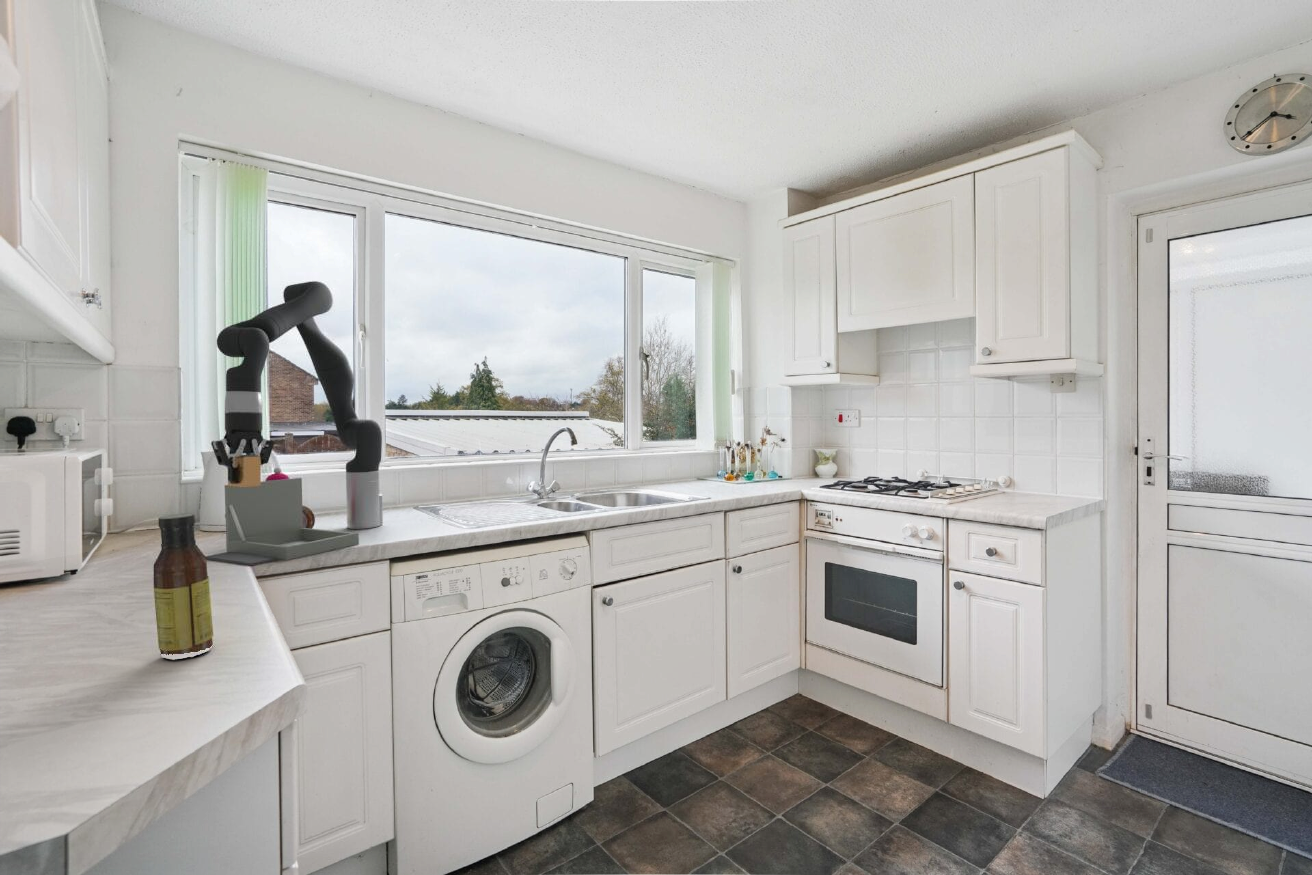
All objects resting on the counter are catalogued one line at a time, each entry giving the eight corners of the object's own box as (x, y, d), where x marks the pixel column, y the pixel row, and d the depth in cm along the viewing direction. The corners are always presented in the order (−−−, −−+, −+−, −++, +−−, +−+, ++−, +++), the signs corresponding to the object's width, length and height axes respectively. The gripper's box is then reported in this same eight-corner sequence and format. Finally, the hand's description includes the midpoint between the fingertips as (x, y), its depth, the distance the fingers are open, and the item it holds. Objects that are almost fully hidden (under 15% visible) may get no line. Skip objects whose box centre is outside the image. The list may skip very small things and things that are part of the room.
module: (244, 484, 152) (244, 454, 152) (260, 485, 150) (260, 454, 149) (227, 485, 148) (227, 455, 148) (243, 486, 146) (243, 455, 146)
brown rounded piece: (316, 533, 183) (315, 504, 183) (309, 535, 180) (308, 506, 180) (267, 533, 184) (266, 504, 184) (259, 535, 181) (259, 506, 181)
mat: (230, 553, 155) (230, 551, 155) (277, 560, 147) (277, 557, 147) (204, 559, 149) (203, 556, 149) (251, 565, 142) (251, 563, 142)
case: (301, 538, 175) (299, 477, 175) (358, 544, 165) (357, 480, 165) (226, 552, 157) (224, 485, 156) (286, 560, 147) (284, 488, 147)
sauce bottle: (206, 642, 92) (201, 509, 92) (220, 652, 88) (215, 513, 88) (150, 656, 87) (145, 515, 87) (162, 667, 83) (157, 519, 83)
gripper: (263, 412, 157) (263, 480, 157) (202, 410, 144) (202, 484, 144) (282, 412, 154) (282, 481, 154) (222, 409, 141) (222, 485, 141)
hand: (244, 482), depth 149 cm, fingers closed on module, 4 cm apart
